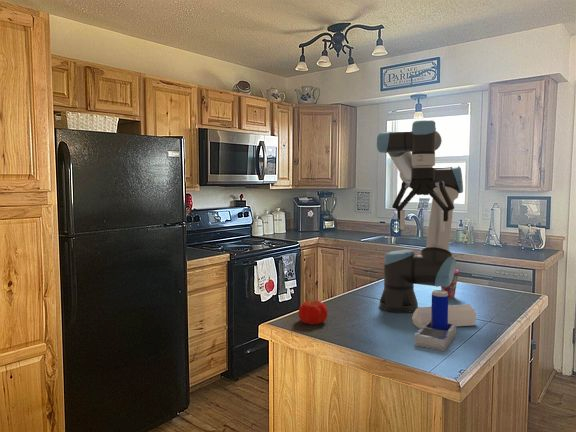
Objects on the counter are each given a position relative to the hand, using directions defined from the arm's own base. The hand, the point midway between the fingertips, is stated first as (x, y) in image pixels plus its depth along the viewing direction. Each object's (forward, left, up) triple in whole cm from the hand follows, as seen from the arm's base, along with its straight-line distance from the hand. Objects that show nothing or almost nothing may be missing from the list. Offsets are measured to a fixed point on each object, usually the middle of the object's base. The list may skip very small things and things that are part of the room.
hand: (422, 230), depth 151 cm
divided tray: (+7, -7, -35) cm, 36 cm away
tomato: (-36, -12, -35) cm, 52 cm away
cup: (-1, +49, -35) cm, 60 cm away
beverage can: (+7, -3, -35) cm, 36 cm away
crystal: (+6, +10, -35) cm, 37 cm away
